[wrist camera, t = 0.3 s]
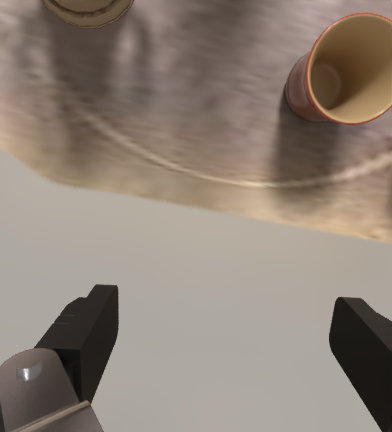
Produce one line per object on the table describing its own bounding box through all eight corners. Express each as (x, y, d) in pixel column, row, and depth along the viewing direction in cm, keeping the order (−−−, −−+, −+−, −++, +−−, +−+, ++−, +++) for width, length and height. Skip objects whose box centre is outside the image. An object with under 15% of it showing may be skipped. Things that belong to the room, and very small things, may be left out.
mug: (301, 143, 37) (339, 145, 28) (261, 81, 36) (286, 59, 26) (389, 80, 36) (464, 57, 26) (352, 11, 34) (416, -42, 24)
